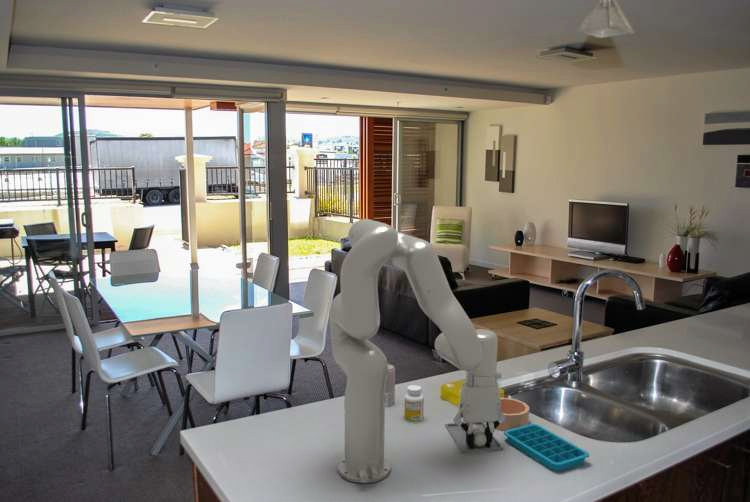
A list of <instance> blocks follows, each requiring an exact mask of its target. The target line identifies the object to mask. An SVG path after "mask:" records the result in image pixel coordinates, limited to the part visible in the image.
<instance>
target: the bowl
mask: <svg viewBox="0 0 750 502" xmlns="http://www.w3.org/2000/svg"><path fill="white" fill-rule="evenodd" d="M500 402H501V411H502V412H503V414H504V416H505V417H506V420H505V421H504V422H502V423H500V424H499V426H498V427H497V428H496V429H495V430H498V431H503V432H504V431H506V430H510V429H514V428H518V427H522V426H526V425H529V423H530V406H529V405H528V404H527V403H526V402H524V401H521V400H519V399H516V398H511V397H509V398H508V397H504V398H500Z"/></svg>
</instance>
